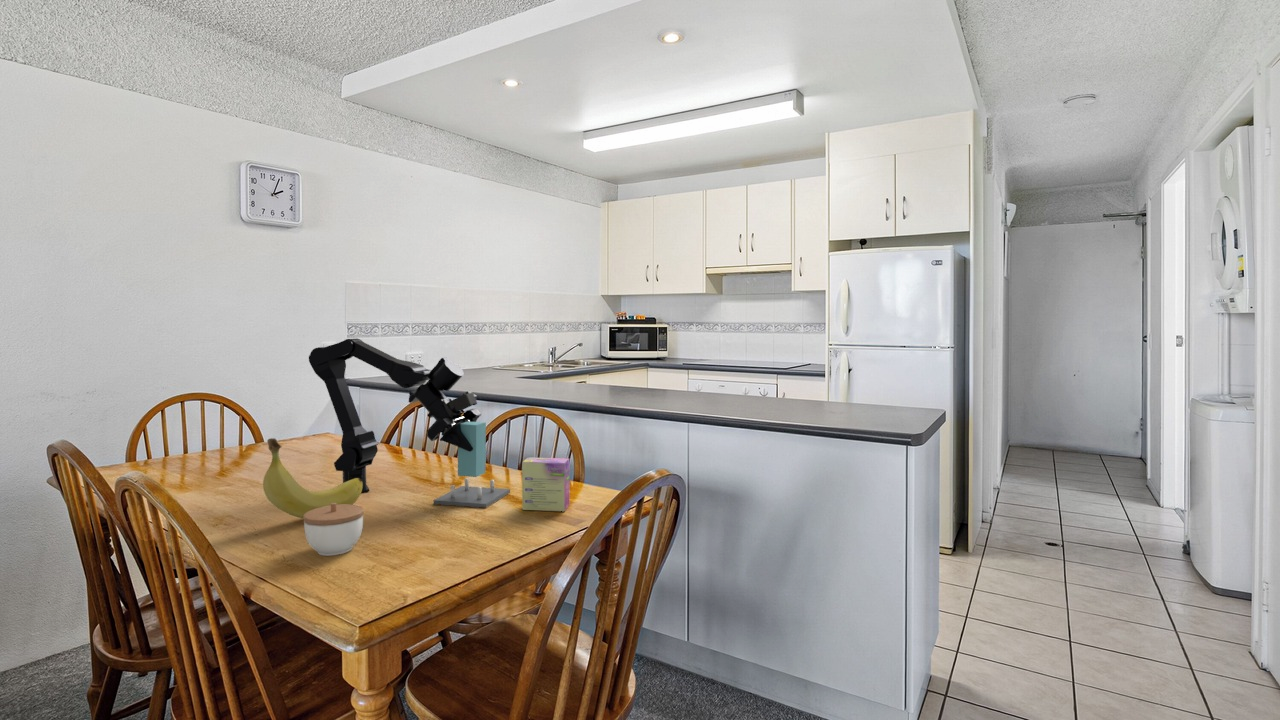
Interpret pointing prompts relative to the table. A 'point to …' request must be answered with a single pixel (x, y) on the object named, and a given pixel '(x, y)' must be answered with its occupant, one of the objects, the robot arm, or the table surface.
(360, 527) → the lidded jar
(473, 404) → the robot arm
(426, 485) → the table surface
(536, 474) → the box
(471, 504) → the base plate
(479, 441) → the teal block
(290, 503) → the banana
